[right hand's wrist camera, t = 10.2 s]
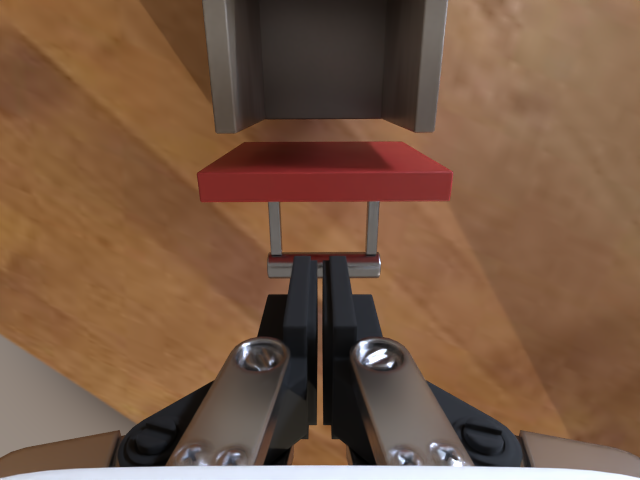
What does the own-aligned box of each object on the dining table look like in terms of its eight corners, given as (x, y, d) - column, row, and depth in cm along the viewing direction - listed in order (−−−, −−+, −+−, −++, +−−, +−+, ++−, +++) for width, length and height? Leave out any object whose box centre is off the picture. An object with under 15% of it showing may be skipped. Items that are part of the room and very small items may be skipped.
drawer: (394, 248, 26) (433, 330, 17) (251, 249, 26) (216, 331, 17) (424, -155, 18) (526, -393, 9) (220, -153, 18) (125, -390, 9)
